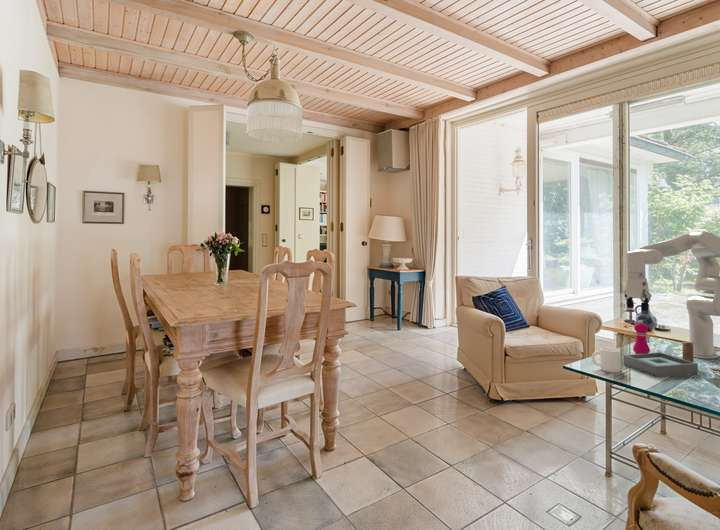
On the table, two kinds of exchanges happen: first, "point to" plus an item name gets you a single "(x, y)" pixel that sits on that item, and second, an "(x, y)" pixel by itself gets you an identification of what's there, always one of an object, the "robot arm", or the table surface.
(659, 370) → the tray
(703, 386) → the table surface
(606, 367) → the mug
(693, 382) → the table surface
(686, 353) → the peg
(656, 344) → the table surface
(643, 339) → the pepper mill
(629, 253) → the robot arm
